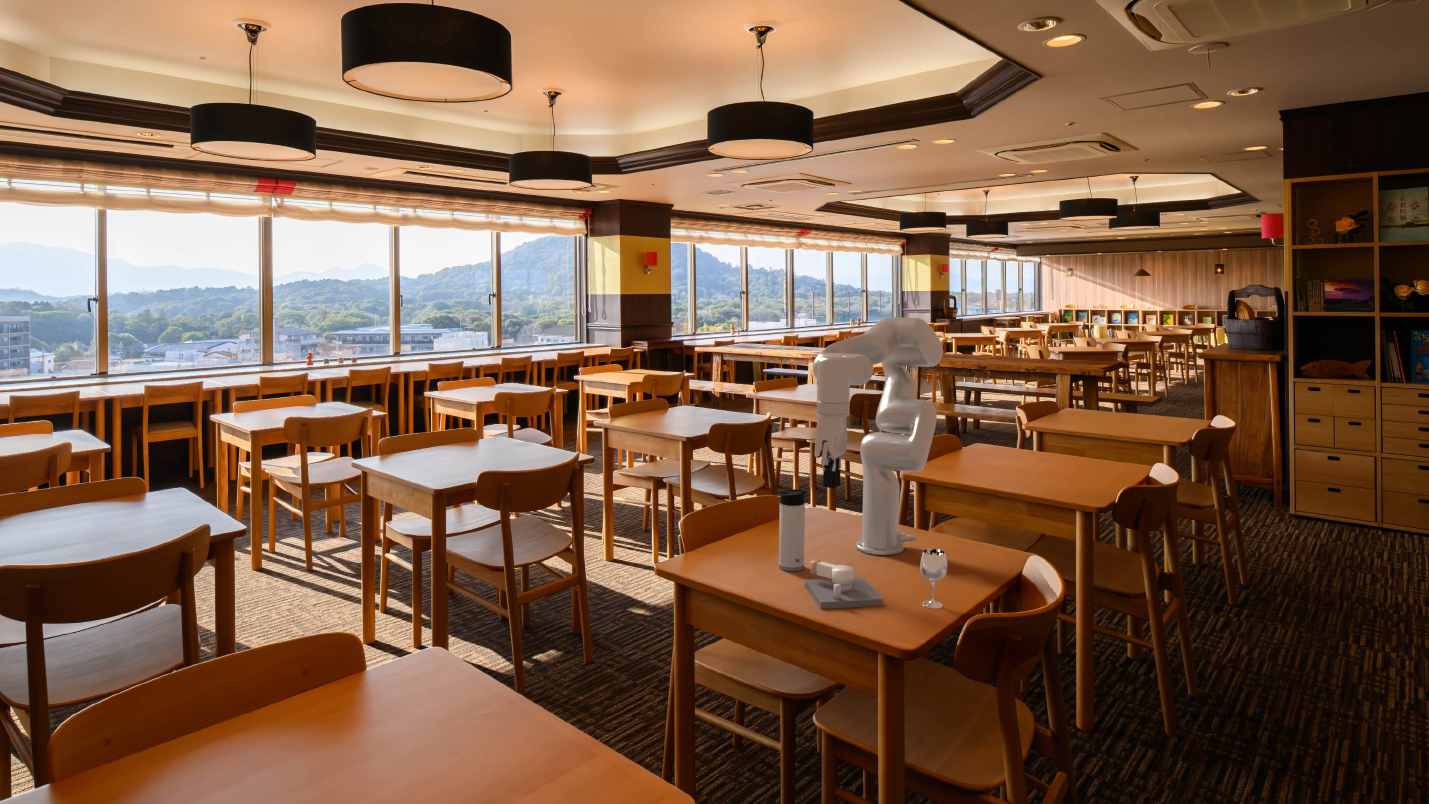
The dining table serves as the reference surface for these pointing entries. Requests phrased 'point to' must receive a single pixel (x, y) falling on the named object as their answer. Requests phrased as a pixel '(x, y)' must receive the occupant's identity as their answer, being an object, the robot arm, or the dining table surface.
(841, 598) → the post board
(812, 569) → the lever cap
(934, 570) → the wineglass
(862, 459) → the robot arm
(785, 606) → the dining table surface
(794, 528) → the travel mug
